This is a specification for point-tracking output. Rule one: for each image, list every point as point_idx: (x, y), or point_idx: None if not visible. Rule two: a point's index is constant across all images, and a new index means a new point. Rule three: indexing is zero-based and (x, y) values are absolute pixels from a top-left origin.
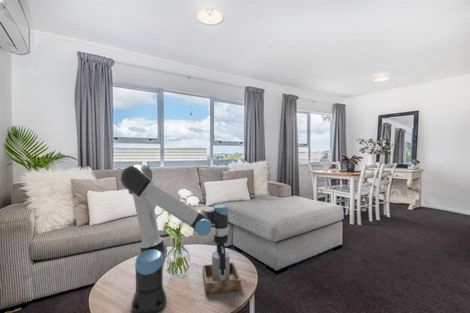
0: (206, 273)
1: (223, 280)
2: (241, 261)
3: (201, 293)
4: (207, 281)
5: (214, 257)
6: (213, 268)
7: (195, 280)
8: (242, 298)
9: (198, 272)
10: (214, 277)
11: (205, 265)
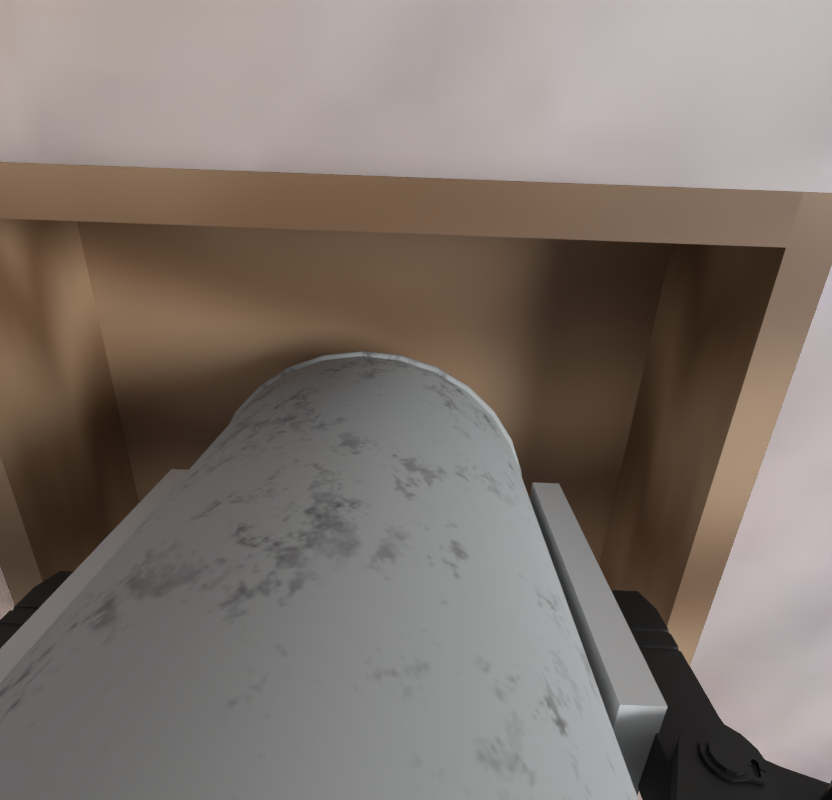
0: (663, 273)
1: (30, 549)
2: (788, 764)
3: (88, 100)
4: (377, 255)
5: None
6: (205, 487)
7: (542, 11)
8: (4, 607)
9: (825, 115)
10: (254, 404)
11: (791, 276)
